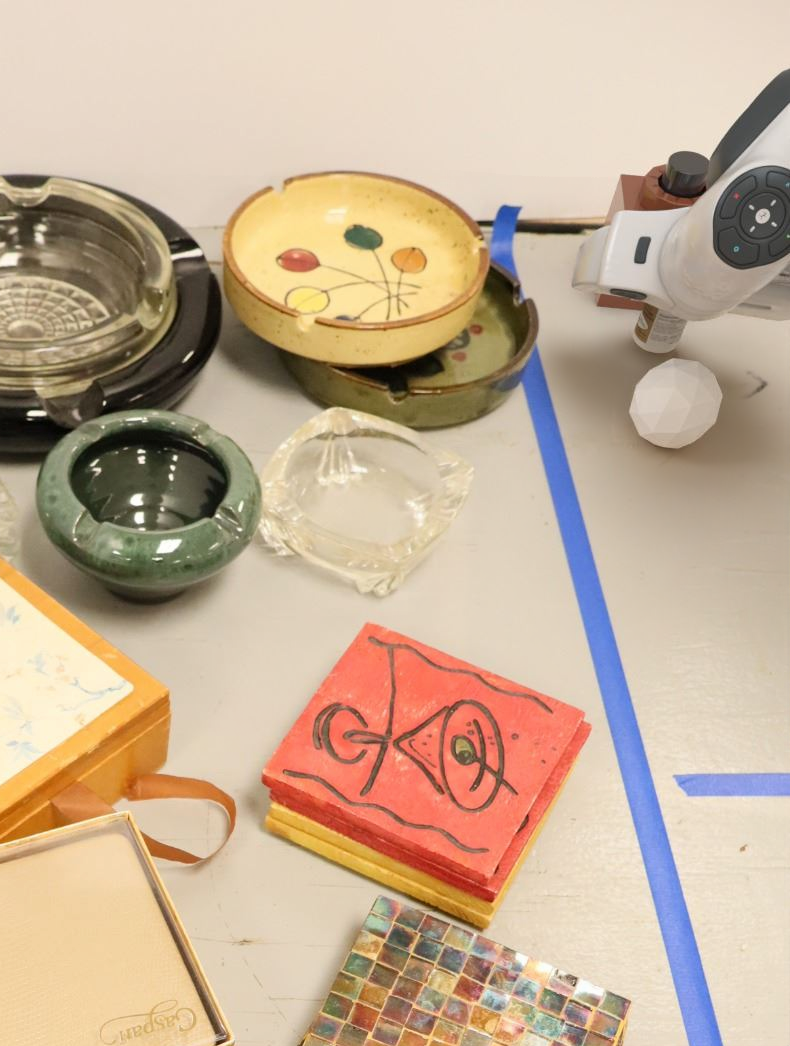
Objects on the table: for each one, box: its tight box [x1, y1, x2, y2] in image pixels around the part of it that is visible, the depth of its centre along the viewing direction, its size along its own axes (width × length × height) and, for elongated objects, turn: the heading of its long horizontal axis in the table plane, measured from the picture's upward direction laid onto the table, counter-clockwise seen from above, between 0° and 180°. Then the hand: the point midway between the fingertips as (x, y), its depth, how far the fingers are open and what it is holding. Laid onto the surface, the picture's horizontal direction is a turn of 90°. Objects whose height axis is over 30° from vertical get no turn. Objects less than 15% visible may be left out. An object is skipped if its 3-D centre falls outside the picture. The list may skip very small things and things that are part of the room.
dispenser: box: [595, 163, 709, 311], centre depth 141 cm, size 10×8×11 cm
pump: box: [660, 150, 710, 199], centre depth 136 cm, size 4×4×2 cm
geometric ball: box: [628, 357, 724, 449], centre depth 130 cm, size 8×8×8 cm
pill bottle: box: [632, 302, 689, 354], centre depth 136 cm, size 4×4×8 cm
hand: (669, 296), depth 136 cm, fingers closed on pill bottle, 4 cm apart
